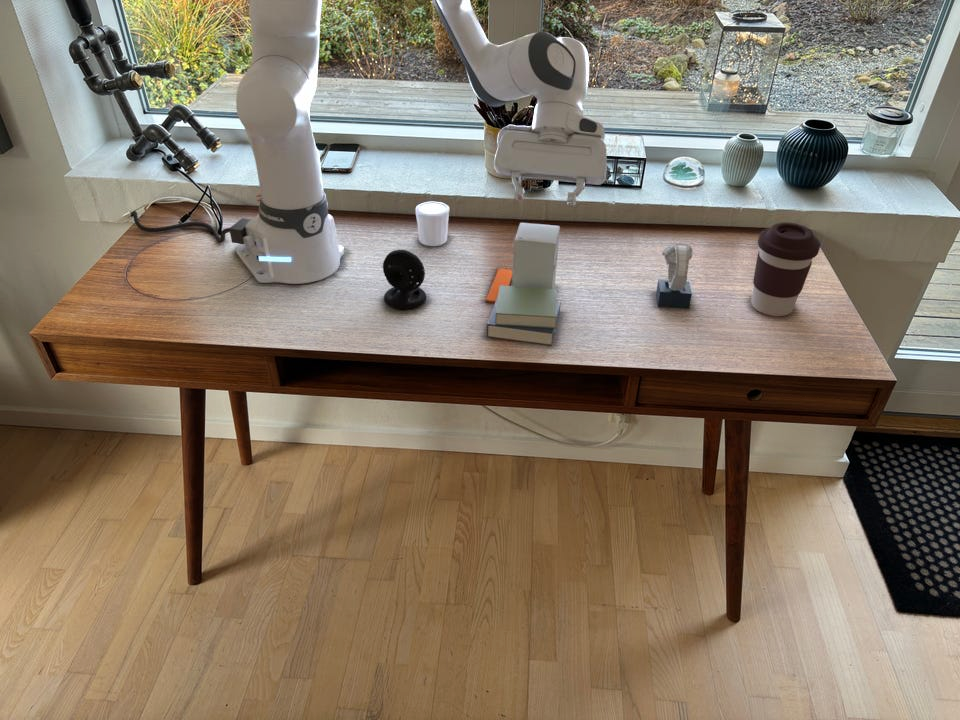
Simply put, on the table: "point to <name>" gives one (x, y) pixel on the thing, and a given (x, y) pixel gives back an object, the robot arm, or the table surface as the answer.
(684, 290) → the watch
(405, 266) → the webcam
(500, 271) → the orange rectangular block
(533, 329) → the book stack
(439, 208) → the white cup
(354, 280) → the table surface
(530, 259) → the white packaging box
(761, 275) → the coffee cup
